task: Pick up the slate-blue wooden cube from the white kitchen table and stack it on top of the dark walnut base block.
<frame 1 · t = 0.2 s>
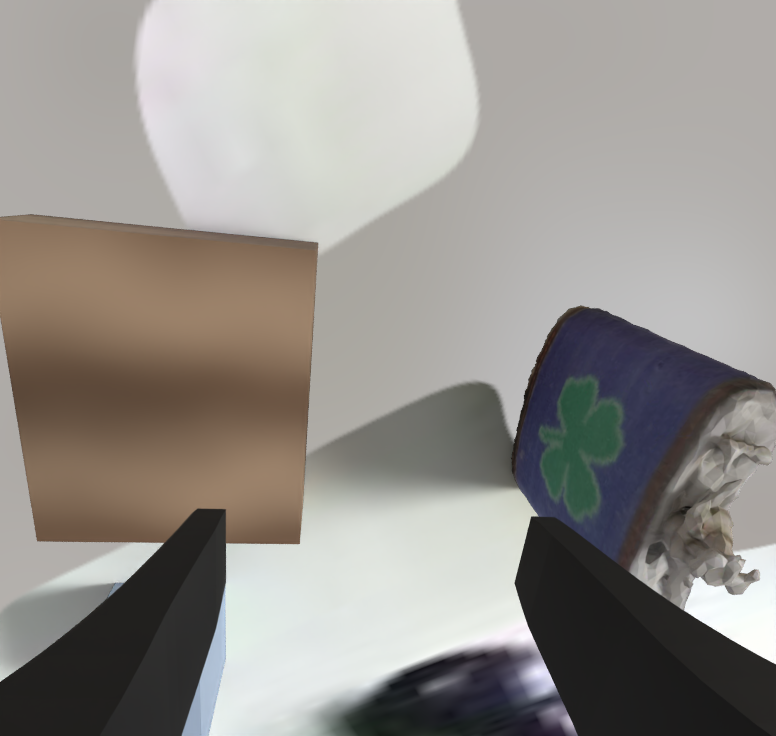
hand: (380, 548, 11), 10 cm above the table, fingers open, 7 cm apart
slate cube: (173, 621, 24), on the table
walnut base: (185, 381, 20), on the table
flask: (551, 399, 22), on the table
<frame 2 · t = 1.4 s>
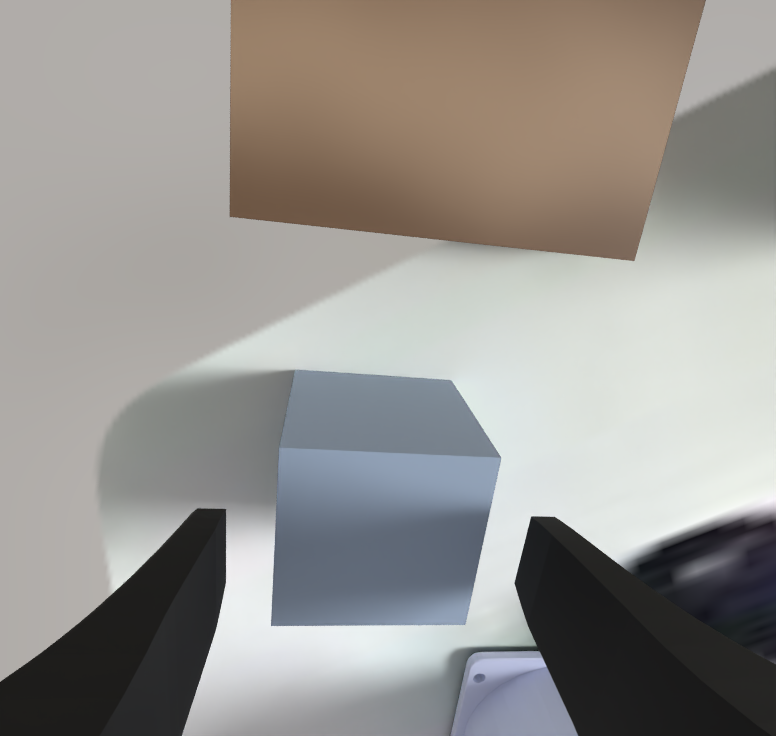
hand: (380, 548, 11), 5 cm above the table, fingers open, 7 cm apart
slate cube: (367, 443, 16), on the table
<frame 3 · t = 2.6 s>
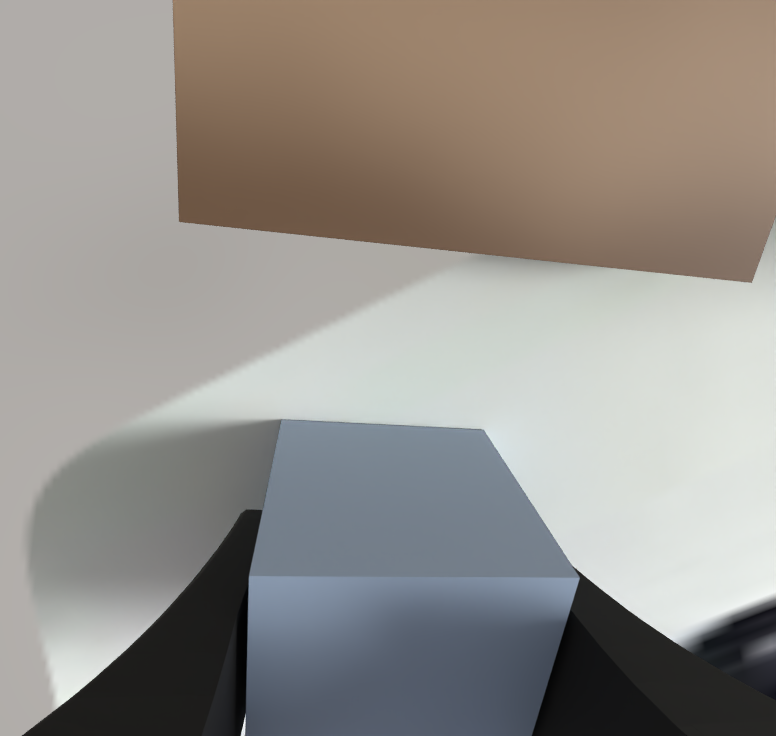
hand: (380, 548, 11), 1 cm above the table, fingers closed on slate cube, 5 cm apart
slate cube: (375, 510, 13), on the table, touching gripper
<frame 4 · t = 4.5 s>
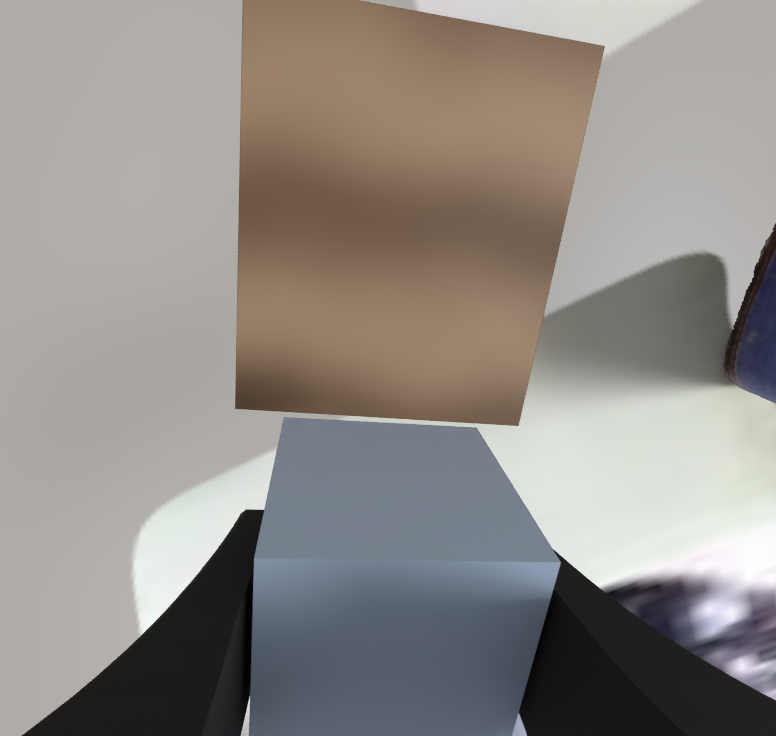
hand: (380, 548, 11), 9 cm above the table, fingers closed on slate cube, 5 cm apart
slate cube: (373, 505, 13), point 7 cm above the table, touching gripper
walnut base: (395, 235, 17), on the table
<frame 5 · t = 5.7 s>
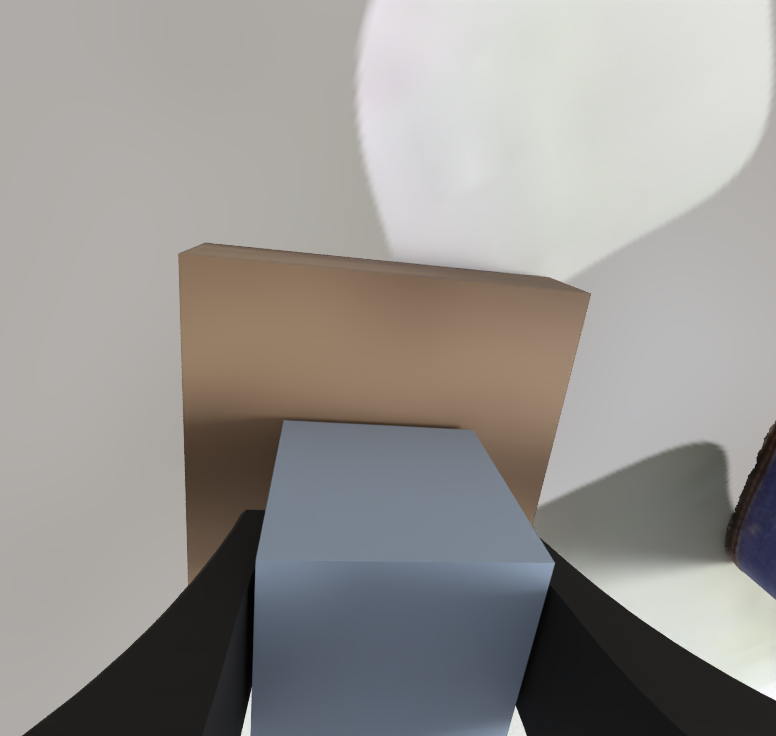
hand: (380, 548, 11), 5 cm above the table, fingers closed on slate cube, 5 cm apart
slate cube: (371, 506, 13), point 3 cm above the table, touching gripper
walnut base: (365, 445, 16), on the table
when the fingers open (5 cm above the table, at t = 6.5 s): slate cube stays where it is, resting on walnut base.
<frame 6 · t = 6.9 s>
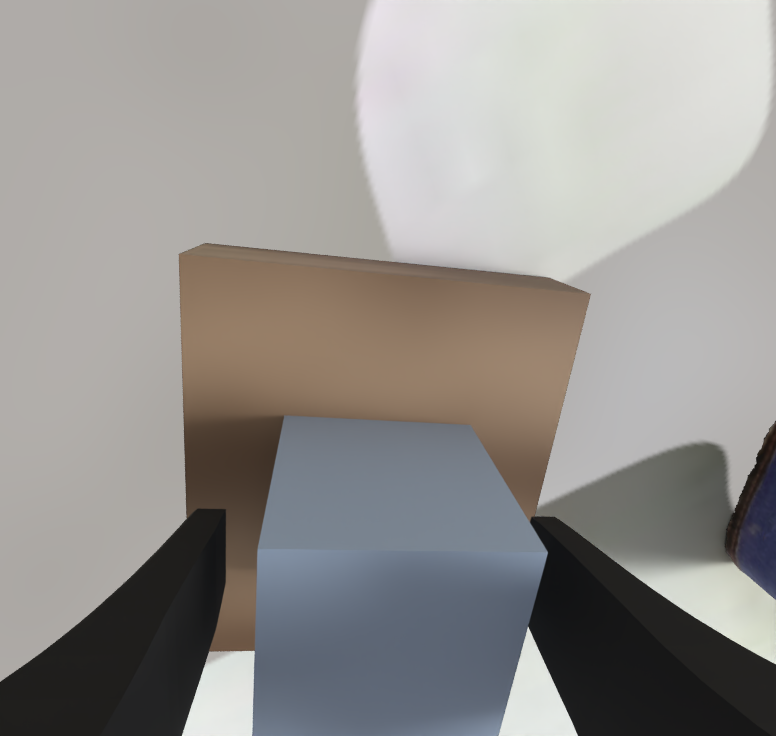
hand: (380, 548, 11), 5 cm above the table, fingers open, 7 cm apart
slate cube: (370, 500, 14), point 2 cm above the table, touching walnut base
walnut base: (365, 445, 16), on the table
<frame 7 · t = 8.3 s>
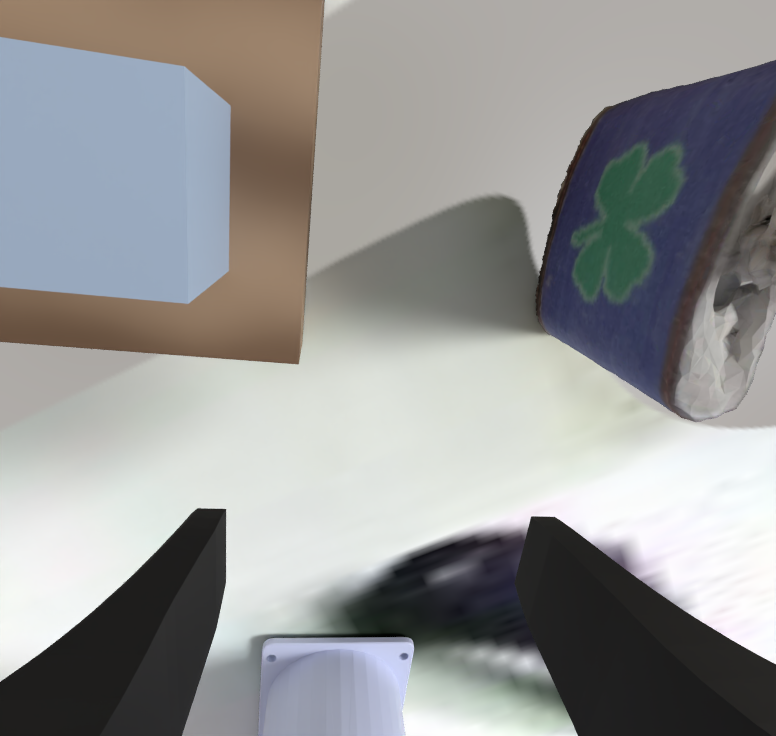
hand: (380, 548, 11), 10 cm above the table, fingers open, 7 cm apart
slate cube: (146, 182, 15), point 2 cm above the table, touching walnut base
walnut base: (171, 172, 17), on the table
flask: (581, 225, 20), on the table
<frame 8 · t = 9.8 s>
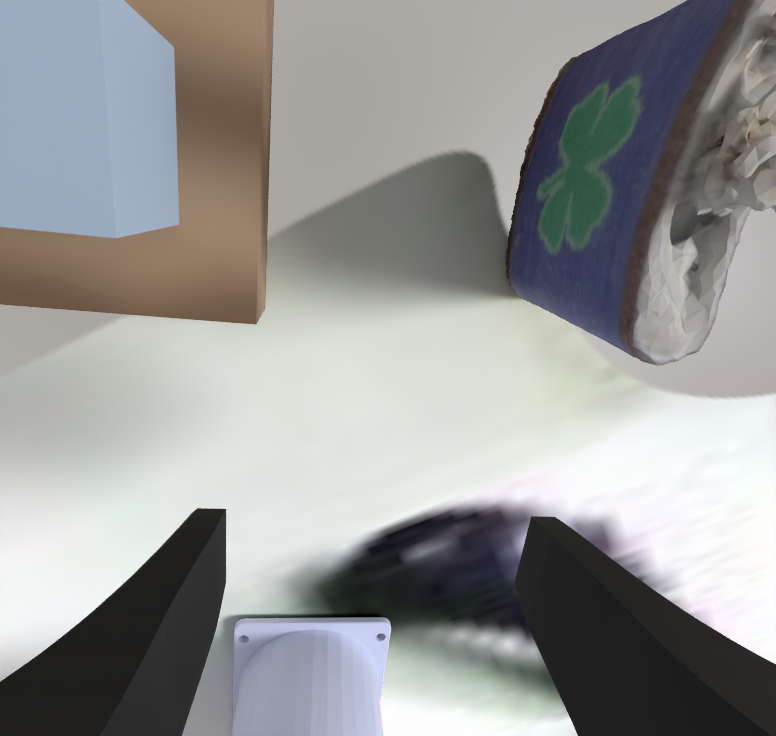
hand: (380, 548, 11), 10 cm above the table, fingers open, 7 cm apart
slate cube: (89, 129, 15), point 2 cm above the table, touching walnut base
walnut base: (122, 127, 17), on the table
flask: (551, 183, 19), on the table
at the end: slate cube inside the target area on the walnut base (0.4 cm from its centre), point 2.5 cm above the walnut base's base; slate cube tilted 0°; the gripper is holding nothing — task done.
